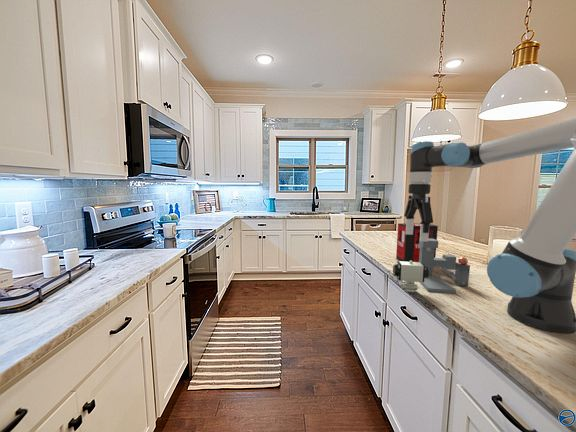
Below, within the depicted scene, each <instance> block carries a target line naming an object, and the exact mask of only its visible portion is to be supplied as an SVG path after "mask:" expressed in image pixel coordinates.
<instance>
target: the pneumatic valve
mask: <svg viewBox="0 0 576 432" xmlns="http://www.w3.org/2000/svg"><path fill="white" fill-rule="evenodd" d="M396 262H397V263H395V264H393V266H392V273H393V276H394V277H396V278H397V280H398V281H402V282H401V289H402V290H404V292H405V293H416V291H418V284H417V283H420V282H424V280H425V278H428V276H429V270H428V267H425V265H424V264H423V263H420V262H412V261H411V260H410V262H407V261H406V262H404V261H398V260H397V261H396ZM415 282H416V283H415Z"/></svg>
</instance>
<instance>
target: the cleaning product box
mask: <svg viewBox="0 0 576 432" xmlns="http://www.w3.org/2000/svg"><path fill="white" fill-rule="evenodd" d="M420 223H421V222H419V223H415V222H414V225H413V235H409V234H406V222H404V223H397V236H396V237H397V239H396V240H397V241H396V255H395V256H396V257H395V259H396V260H397V261H404V262H406V261H407V262H410V260H411V261H412V262H419V254H420V245H419V238H420V227H421V224H420ZM438 229H439V226H438V225H437V224H436V225H435V224H433V223H430V224H429V235H428V239H435V240H437V241H438ZM436 255H437V248H435V251H434V258H436Z"/></svg>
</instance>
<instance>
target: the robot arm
mask: <svg viewBox="0 0 576 432" xmlns="http://www.w3.org/2000/svg"><path fill="white" fill-rule="evenodd" d="M572 148H573V150H572V153H571V154H570V155H569V157H568V158H567V161H565V164H564V165H563V167H562V169H561V170H560V172H559V174H557V176H556V178H555V180H554V181H553V182H552V185H551V186H550V188H549V189H548V191H547V192H546V194H545V196H544V197H543V199H542V200H541V202H540V204H539V206H538V208H537V209H536V211H535V212H534V214H533V215H532V217H531V218H530V221H528V224H527V225H526V227H525V228H524V230H523V232H522V233H521V235H520V236H518V237H513V238H511V239H510V240H509V241H508V243H507V244H506V246H505V247H504V249H503V251H502V252H501V253H500V254H497V255H495V256H494V257H492V258H491V259H490V260H489V261H488V262H487V266H486V274H487V276H488V279H489V282H490V283H491V284H492V285H493V286H494V287H495V289H497V290H498V291H499V292H501V293H502V294H504V295H506V296H509V297H511V299H510V301H509V302H508V304H507V307H506V311H507V314H508V315H509V316H510V317H511V318H512V319H514V320H516V321H519V322H521V323H523V324H525V325H527V326H531V327H534V328H536V329H539V330H544V331H548V332H551V333H552V332H553V333H560V334H572V333H576V313H575V308H574V306H573V302H572V299H573V291H574V285H575V280H576V279H575V277H576V250H574V249H571V248H567V247H568V246H569V244H570V243H571V242H572V241H573V239H574V238H575V236H576V118H573V119H572V118H571V119H568V120H564V121H561V122H557V123H554V124H553V123H552V124H549V125H545V126H542V127H537V128H534V129H530V130H527V131H523V132H518V133H515V134H512V135H508V136H505V137H500V138H496V139H492V140H489V141H485V142H482V143H478V144H474V145H467V143H466V142H451V143H447V144H446V143H445V144H440V145H435V144H434V142H432V141H428V140H427V141H423V140H422V141H418V142H417V141H416V142H414V143H412V144H411V148H410V149H411V150H410V154H409V156H410V161H409V162H410V164H409V167H410V168H409V174H408V183H409V185H408V191H407V192H408V194H410V195H408V199H407V202H406V208H405V211H404V215H403V216H404V217H405V220H406V222H405V223H406V234H409V235H413V225H414V223H415V221H414V220H415V214H416V213H417V210H418V212H419V216H420V219H421V221H420V222H419V223H420V224H421V227H420V241H424V242H428V235H429V224H433V223H434V218H433V213H432V212H433V211H432V205H431V196H427V195H429V194H431V187H432V186H431V184H430V183H431V182H432V177H433V175H432V169H433V168H438V167H439V168H440V167H452V168H467V169H477V168H481V167H483V166H484V165H489V164H495V163H498V162H505V161H509V160H515V159H520V158H526V157H532V156H535V155H541V154H546V153H551V152H552V153H553V152H557V151H563V150H567V149H572Z"/></svg>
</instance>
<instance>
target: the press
mask: <svg viewBox="0 0 576 432" xmlns="http://www.w3.org/2000/svg"><path fill="white" fill-rule="evenodd" d="M419 245H420V254H419V262H420V263H423V264H424V265H425V267H428V270H429V276H428V278H425V280H424V282H419V283H420V285H421V286H422V287H423V288H424V289H425V290H426V291H427V292H434V293H448V294H449V293H450V294H457V289H456V288H454V286H452V285H451V284H450V283H448V282H447V281H446V280H445V279H444V278H442V277H441V276H439V275H438V276H437V275H433V273H434V268H435V267H437V268H441V267H443V268H445V269H448V270H450V271H452V270H453V271H455V267H456V263H457V256H455V255H454V254H445V253H444V254H442V256H441V257H435V258H434V251H435V248H436V249H439V240H438V239H437V240H435V239H428V242H424V241H420V238H419Z"/></svg>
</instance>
